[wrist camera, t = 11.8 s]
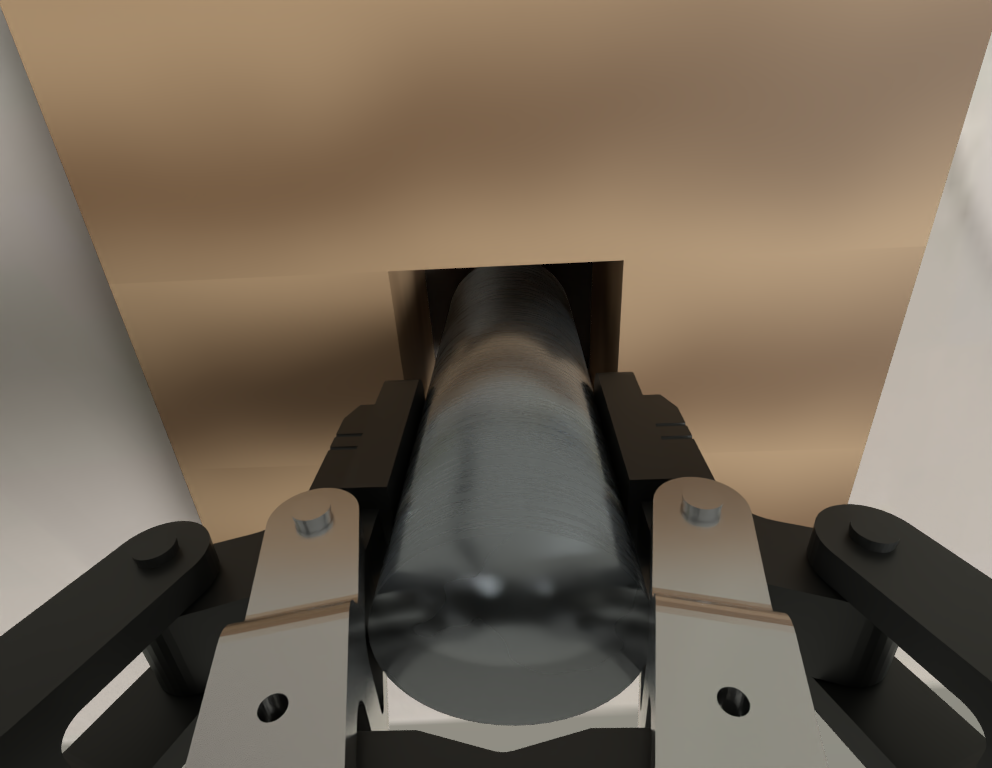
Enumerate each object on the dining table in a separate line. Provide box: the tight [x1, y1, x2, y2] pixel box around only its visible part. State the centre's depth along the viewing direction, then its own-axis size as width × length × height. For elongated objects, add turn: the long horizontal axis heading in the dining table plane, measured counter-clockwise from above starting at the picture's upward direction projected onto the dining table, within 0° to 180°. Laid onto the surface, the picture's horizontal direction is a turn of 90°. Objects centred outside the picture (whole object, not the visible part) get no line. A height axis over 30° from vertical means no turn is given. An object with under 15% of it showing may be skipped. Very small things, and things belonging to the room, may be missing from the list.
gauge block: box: [0, 0, 992, 544], centre depth 16 cm, size 18×18×5 cm
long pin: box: [368, 264, 650, 726], centre depth 12 cm, size 4×4×11 cm
